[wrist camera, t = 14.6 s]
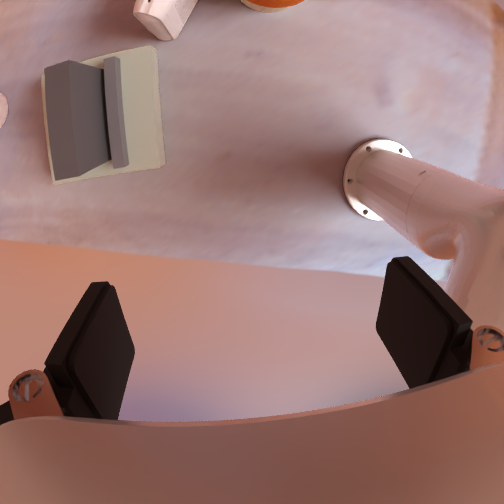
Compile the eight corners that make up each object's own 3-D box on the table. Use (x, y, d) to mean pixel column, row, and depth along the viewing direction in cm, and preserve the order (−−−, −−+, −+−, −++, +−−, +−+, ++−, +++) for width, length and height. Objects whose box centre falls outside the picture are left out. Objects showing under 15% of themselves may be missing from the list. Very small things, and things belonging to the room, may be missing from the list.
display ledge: (157, 50, 34) (146, 41, 28) (165, 162, 41) (157, 170, 35) (54, 76, 33) (33, 74, 27) (65, 178, 40) (46, 189, 34)
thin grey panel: (104, 69, 31) (69, 60, 22) (111, 159, 36) (79, 176, 27) (81, 75, 30) (42, 69, 21) (89, 163, 36) (52, 181, 27)
